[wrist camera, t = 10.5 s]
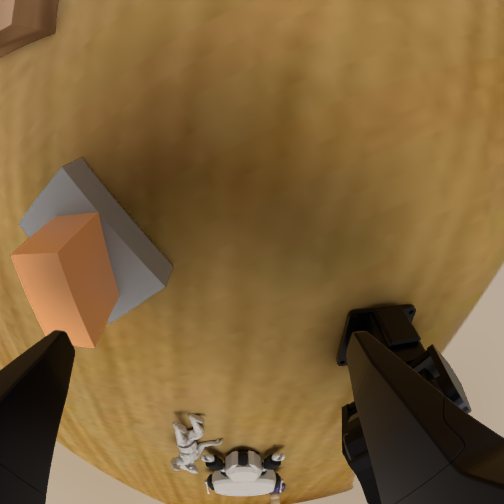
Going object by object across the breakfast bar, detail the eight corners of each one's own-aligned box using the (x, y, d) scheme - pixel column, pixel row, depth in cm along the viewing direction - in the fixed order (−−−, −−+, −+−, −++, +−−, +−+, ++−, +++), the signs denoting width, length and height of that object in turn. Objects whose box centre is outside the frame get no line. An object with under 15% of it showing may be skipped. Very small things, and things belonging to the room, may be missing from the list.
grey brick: (174, 263, 21) (165, 286, 19) (121, 299, 23) (110, 323, 20) (84, 156, 17) (61, 166, 15) (39, 208, 19) (18, 224, 16)
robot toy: (197, 438, 35) (208, 476, 41) (195, 464, 31) (207, 498, 37) (287, 436, 36) (279, 475, 42) (291, 463, 32) (281, 496, 38)
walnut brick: (60, -8, 11) (19, -23, 6) (55, 33, 12) (11, 24, 8) (0, 21, 11) (-41, 17, 6) (-3, 59, 12) (-47, 61, 8)
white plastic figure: (224, 408, 31) (229, 468, 34) (197, 391, 35) (205, 452, 37) (170, 438, 26) (186, 496, 28) (145, 415, 29) (163, 476, 31)
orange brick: (120, 295, 19) (94, 348, 15) (79, 294, 19) (49, 342, 14) (98, 211, 16) (57, 252, 12) (54, 216, 16) (10, 254, 12)
